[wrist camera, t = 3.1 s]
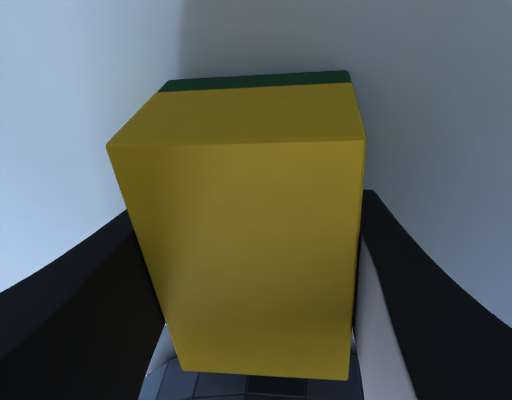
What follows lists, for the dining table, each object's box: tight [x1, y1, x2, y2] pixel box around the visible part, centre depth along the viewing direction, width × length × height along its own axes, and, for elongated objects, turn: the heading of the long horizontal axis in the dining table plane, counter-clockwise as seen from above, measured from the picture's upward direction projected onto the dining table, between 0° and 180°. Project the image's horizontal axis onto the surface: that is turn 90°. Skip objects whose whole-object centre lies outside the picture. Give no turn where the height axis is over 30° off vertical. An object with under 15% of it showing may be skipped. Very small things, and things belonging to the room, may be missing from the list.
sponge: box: [106, 70, 367, 381], centre depth 10 cm, size 7×4×4 cm, turn 6°
